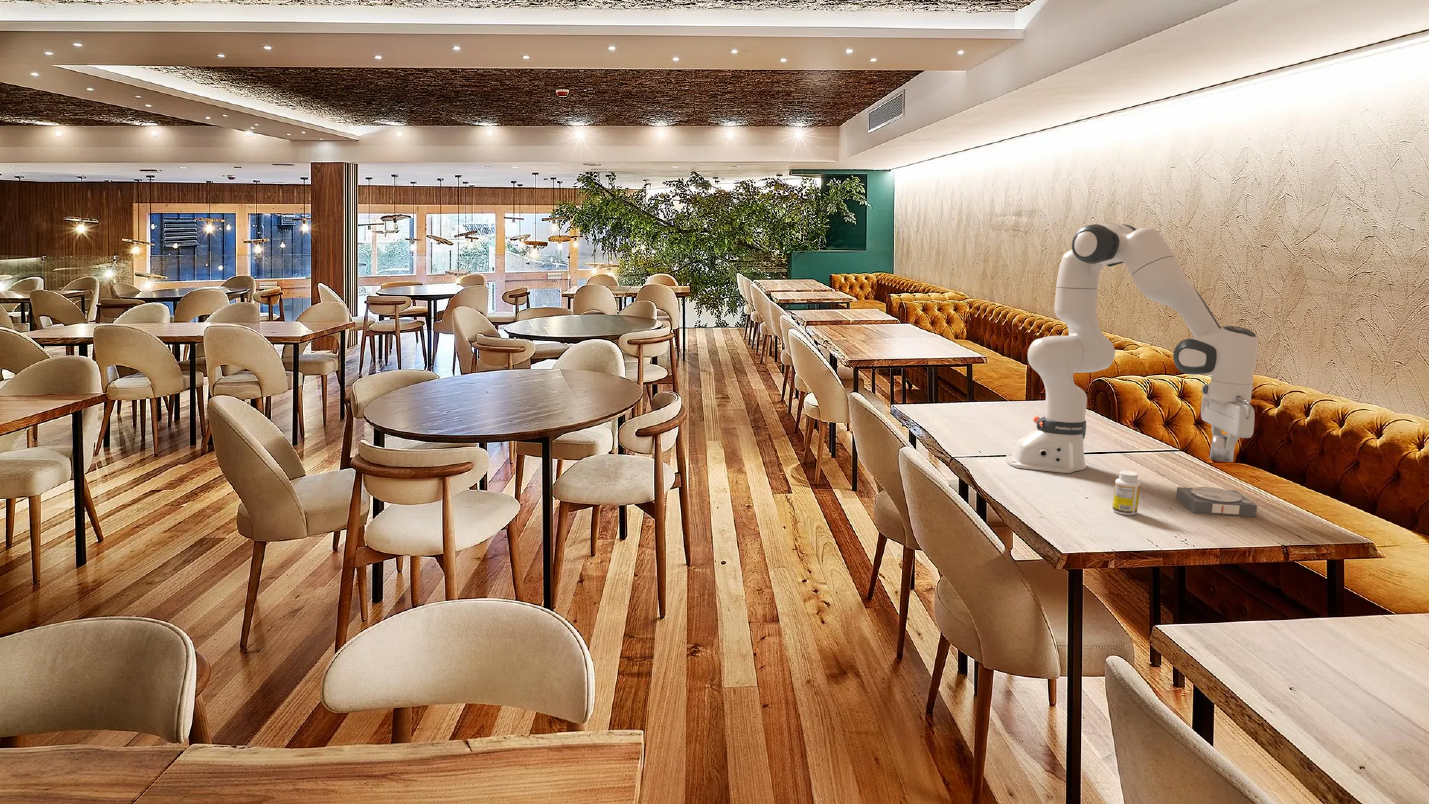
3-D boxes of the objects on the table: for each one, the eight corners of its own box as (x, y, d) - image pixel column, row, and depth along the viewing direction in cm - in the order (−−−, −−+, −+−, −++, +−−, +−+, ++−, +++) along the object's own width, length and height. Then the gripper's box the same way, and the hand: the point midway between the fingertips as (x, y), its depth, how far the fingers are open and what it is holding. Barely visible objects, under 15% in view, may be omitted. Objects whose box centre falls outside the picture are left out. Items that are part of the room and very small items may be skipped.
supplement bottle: (1126, 508, 205) (1131, 469, 203) (1141, 515, 200) (1146, 475, 198) (1107, 509, 204) (1111, 470, 202) (1121, 516, 199) (1126, 476, 197)
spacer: (1215, 461, 202) (1218, 438, 201) (1206, 456, 207) (1209, 433, 206) (1236, 462, 201) (1240, 438, 200) (1227, 457, 206) (1230, 434, 205)
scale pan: (1201, 501, 202) (1201, 498, 201) (1184, 487, 212) (1184, 485, 212) (1249, 504, 200) (1249, 501, 200) (1230, 490, 210) (1230, 488, 210)
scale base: (1194, 513, 201) (1196, 501, 201) (1175, 497, 214) (1177, 485, 213) (1256, 517, 199) (1258, 504, 198) (1234, 501, 211) (1235, 489, 210)
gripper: (1265, 401, 190) (1257, 458, 193) (1225, 385, 210) (1217, 437, 213) (1236, 400, 191) (1228, 457, 194) (1198, 385, 211) (1192, 436, 213)
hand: (1222, 446), depth 203 cm, fingers closed on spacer, 5 cm apart
